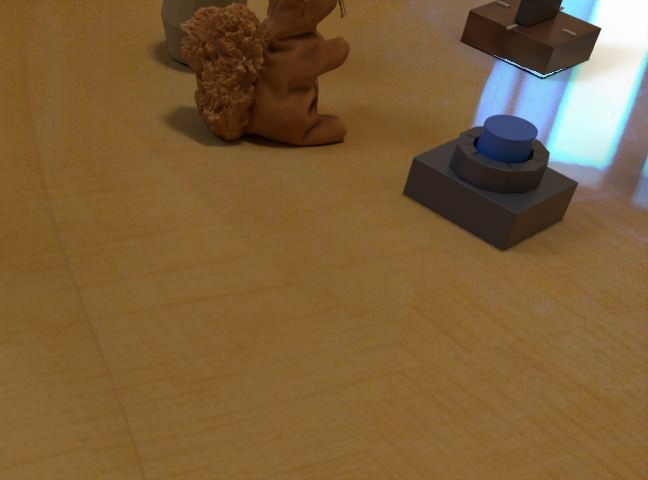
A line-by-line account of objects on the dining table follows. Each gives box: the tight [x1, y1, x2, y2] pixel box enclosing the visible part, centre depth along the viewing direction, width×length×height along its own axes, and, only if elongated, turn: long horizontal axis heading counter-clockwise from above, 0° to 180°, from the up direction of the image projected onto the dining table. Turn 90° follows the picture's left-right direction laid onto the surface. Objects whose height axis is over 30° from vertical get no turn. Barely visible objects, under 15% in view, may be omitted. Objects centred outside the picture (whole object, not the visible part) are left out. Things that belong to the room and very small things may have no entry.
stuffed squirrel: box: [179, 0, 351, 147], centre depth 83 cm, size 10×14×13 cm
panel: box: [460, 0, 602, 75], centre depth 99 cm, size 10×9×3 cm
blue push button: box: [476, 114, 539, 163], centre depth 76 cm, size 4×4×2 cm
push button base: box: [402, 125, 579, 252], centre depth 79 cm, size 10×8×5 cm
